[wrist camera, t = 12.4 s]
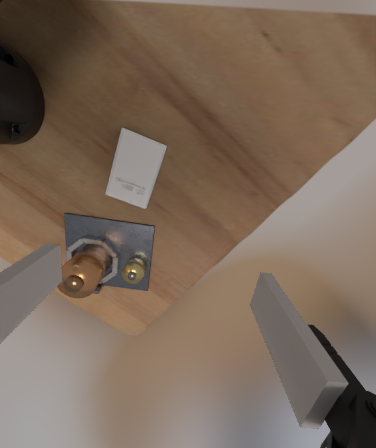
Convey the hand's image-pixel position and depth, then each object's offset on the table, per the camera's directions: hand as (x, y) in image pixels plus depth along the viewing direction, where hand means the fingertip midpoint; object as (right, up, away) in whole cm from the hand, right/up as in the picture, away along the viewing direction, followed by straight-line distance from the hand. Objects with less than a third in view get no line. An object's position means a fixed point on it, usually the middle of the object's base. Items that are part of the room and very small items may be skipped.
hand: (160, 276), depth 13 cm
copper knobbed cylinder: (-18, -4, +29) cm, 35 cm away
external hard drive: (-8, +14, +24) cm, 29 cm away
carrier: (-15, -3, +29) cm, 33 cm away
